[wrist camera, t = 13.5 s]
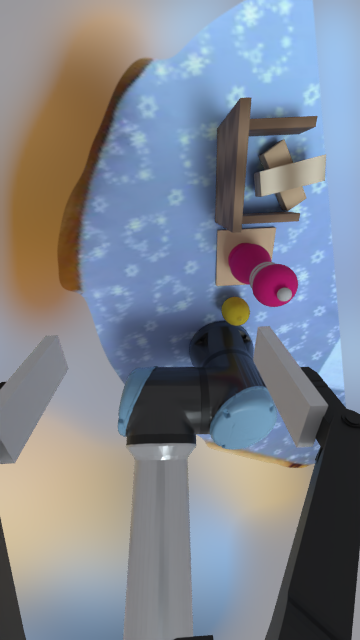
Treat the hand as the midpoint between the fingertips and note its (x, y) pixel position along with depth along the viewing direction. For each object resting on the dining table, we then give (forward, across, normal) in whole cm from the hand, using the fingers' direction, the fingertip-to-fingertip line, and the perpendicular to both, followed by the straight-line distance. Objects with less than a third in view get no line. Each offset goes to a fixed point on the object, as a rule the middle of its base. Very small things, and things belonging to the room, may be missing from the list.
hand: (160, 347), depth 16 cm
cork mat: (+35, -16, +3) cm, 38 cm away
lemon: (+35, -14, +13) cm, 40 cm away
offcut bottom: (+35, -21, -11) cm, 42 cm away
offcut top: (+32, -20, -11) cm, 40 cm away
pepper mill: (+34, -15, +3) cm, 38 cm away
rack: (+35, -16, -11) cm, 40 cm away
